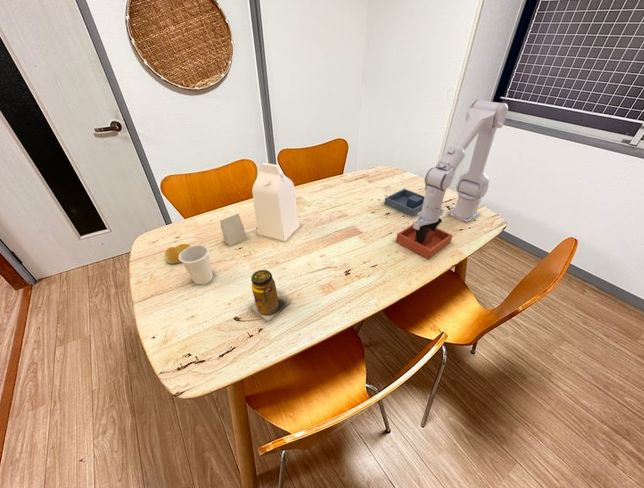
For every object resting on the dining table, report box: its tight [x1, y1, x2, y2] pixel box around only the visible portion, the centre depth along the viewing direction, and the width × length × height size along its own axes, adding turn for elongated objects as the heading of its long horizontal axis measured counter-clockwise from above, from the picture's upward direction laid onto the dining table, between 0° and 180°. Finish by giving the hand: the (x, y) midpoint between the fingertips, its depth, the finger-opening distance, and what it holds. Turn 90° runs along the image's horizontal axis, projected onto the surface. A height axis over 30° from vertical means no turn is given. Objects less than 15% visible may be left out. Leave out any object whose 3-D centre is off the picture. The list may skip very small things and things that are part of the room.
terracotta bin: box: [395, 223, 454, 260], centre depth 99 cm, size 14×14×4 cm
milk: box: [251, 162, 301, 242], centre depth 100 cm, size 12×12×26 cm
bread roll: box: [164, 243, 192, 264], centre depth 95 cm, size 8×9×4 cm
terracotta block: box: [414, 230, 434, 246], centre depth 98 cm, size 4×4×4 cm
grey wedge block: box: [220, 213, 247, 247], centre depth 100 cm, size 4×7×10 cm, turn 131°
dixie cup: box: [179, 244, 214, 285], centre depth 84 cm, size 8×8×10 cm
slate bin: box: [383, 188, 425, 218], centre depth 120 cm, size 14×15×4 cm
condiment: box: [250, 269, 291, 322], centre depth 74 cm, size 7×8×12 cm
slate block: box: [406, 195, 423, 209], centre depth 117 cm, size 4×4×4 cm
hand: (423, 238), depth 99 cm, fingers closed on terracotta block, 4 cm apart
